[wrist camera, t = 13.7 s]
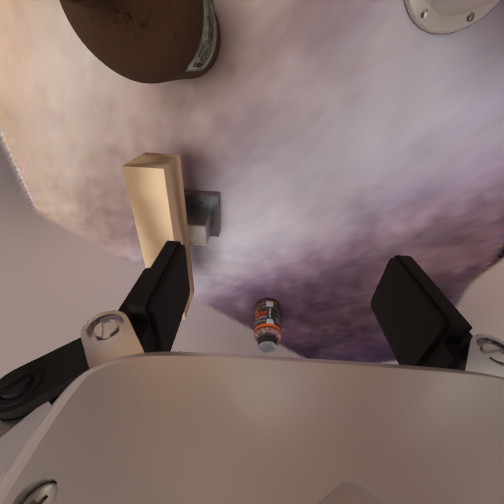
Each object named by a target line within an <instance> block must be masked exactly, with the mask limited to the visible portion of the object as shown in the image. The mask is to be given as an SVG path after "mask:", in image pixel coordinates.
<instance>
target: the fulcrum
mask: <svg viewBox="0 0 504 504" xmlns="http://www.w3.org/2000/svg"><path fill="white" fill-rule="evenodd" d="M184 197H185V206H186V216H187V226H188V235H189V245H192V246H206V245H207V242H208V239H209V236H218V237H219V234H220V199H219V192H209V191H194V190H184Z"/></svg>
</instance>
